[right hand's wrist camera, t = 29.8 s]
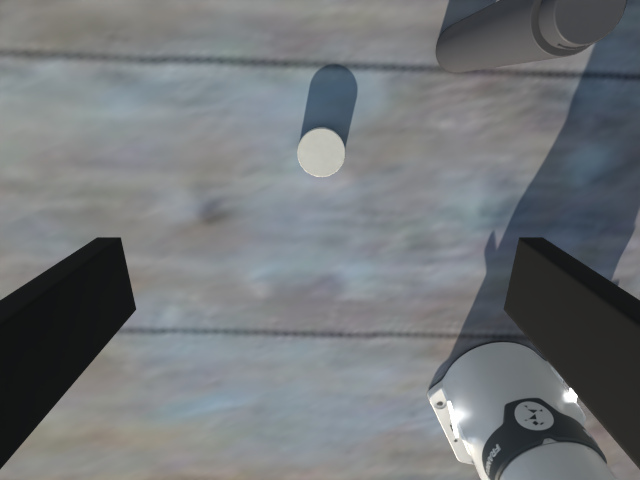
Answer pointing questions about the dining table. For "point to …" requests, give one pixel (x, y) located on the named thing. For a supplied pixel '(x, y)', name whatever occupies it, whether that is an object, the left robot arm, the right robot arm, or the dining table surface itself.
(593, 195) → the dining table surface
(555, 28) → the dark grey cylinder
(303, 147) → the cream round lid
